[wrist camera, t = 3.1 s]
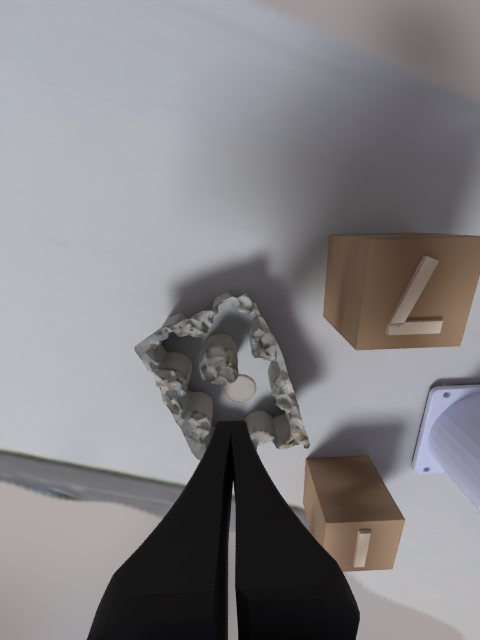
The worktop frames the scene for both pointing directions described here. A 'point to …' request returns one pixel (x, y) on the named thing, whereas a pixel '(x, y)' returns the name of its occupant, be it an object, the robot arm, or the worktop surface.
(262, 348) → the egg carton
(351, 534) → the numbered block one
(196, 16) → the worktop surface
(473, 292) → the numbered block seven
